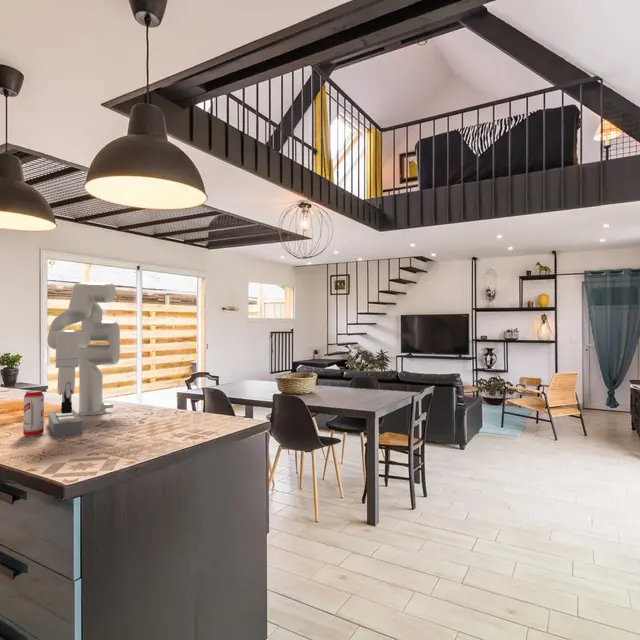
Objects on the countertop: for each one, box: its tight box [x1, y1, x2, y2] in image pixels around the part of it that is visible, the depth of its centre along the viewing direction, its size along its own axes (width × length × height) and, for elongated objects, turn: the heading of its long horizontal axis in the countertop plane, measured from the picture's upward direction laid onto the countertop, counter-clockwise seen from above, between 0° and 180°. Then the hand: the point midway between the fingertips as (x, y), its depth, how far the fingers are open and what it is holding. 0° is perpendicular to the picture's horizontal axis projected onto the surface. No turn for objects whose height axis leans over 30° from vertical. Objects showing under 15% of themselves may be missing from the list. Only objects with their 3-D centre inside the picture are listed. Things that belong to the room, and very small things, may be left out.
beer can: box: [22, 389, 45, 437], centre depth 164 cm, size 6×6×16 cm
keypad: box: [48, 409, 83, 439], centre depth 174 cm, size 9×27×5 cm, turn 34°
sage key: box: [57, 413, 73, 418], centre depth 174 cm, size 5×5×3 cm
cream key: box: [58, 416, 75, 422], centre depth 167 cm, size 5×5×3 cm
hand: (66, 412), depth 167 cm, fingers closed
